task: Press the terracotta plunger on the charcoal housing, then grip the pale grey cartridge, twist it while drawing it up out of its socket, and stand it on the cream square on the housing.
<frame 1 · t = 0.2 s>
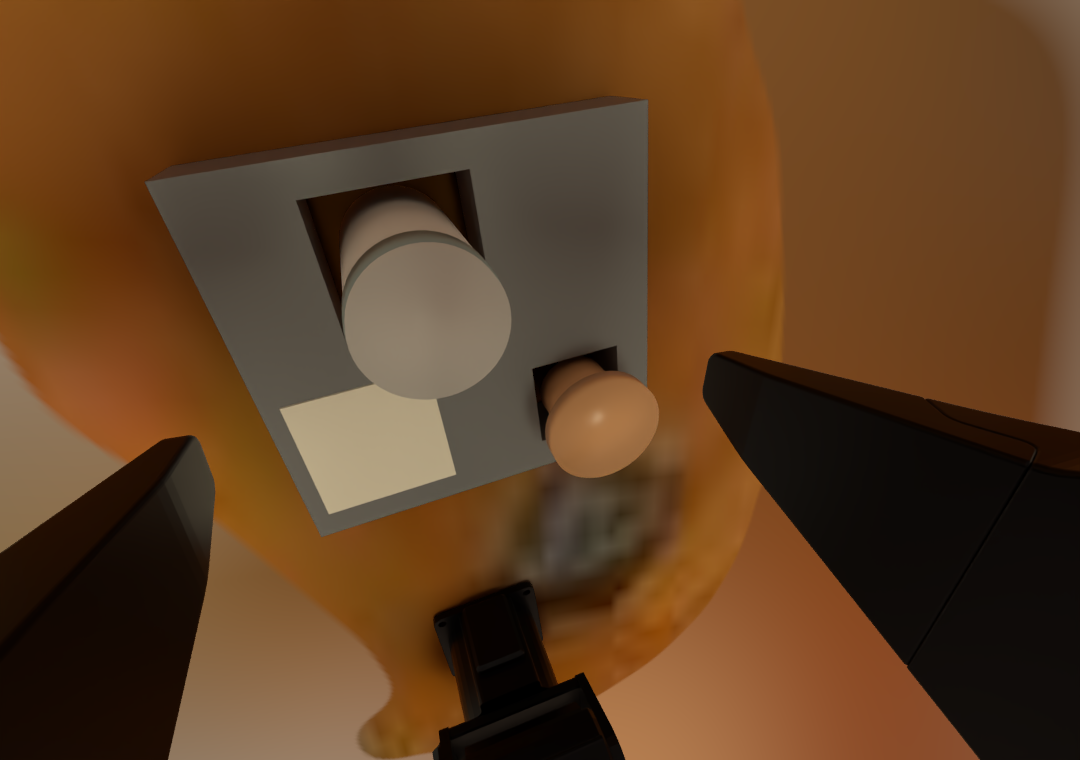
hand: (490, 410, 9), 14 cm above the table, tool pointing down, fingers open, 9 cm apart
housing: (452, 313, 23), on the table
cartridge: (397, 243, 21), resting in housing
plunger: (588, 407, 23), point 4 cm above the table, slide at 0.0 cm
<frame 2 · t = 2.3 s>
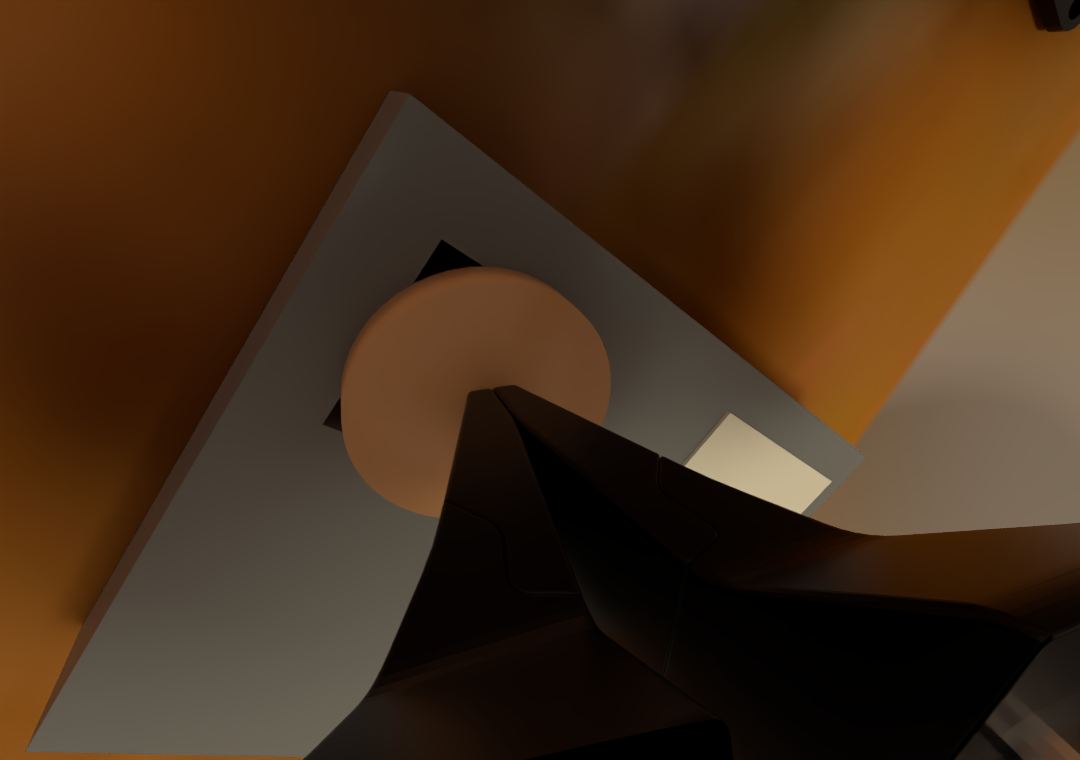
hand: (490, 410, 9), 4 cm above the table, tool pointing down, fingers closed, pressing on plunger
housing: (498, 498, 16), on the table
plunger: (464, 366, 11), point 2 cm above the table, slide at 1.9 cm, touching gripper
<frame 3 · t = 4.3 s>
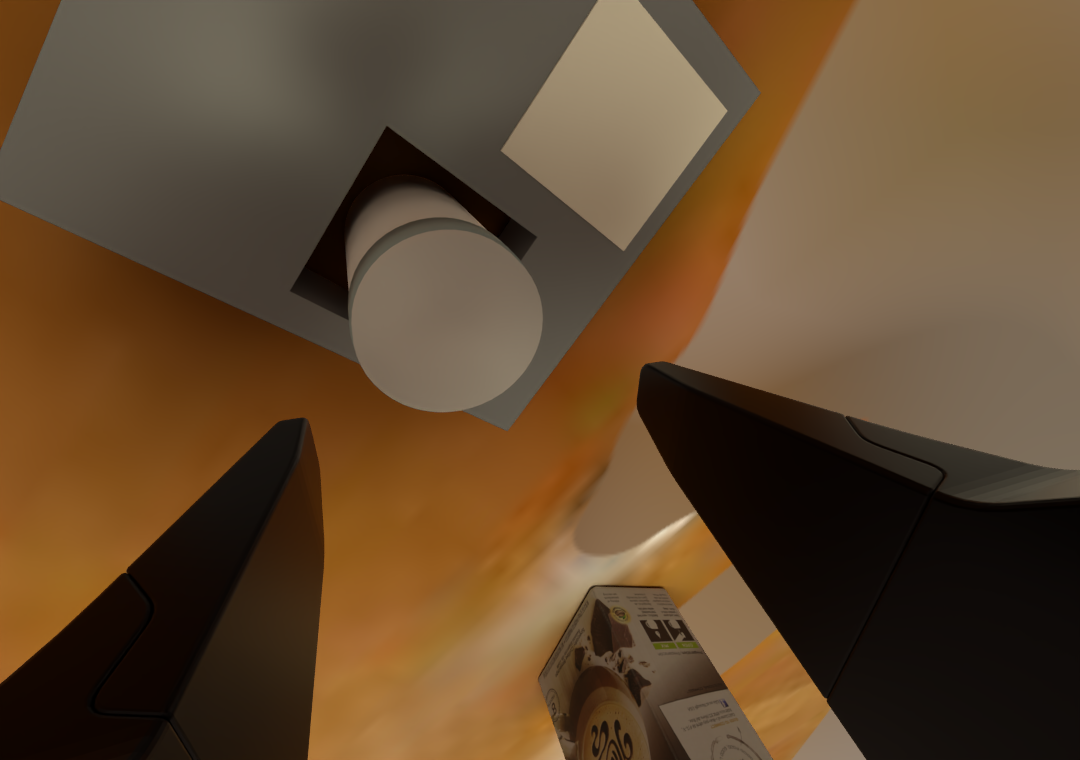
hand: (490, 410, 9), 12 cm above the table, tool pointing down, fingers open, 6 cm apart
housing: (424, 126, 17), on the table
cartridge: (408, 238, 19), resting in housing
coffee box: (598, 630, 36), on the table
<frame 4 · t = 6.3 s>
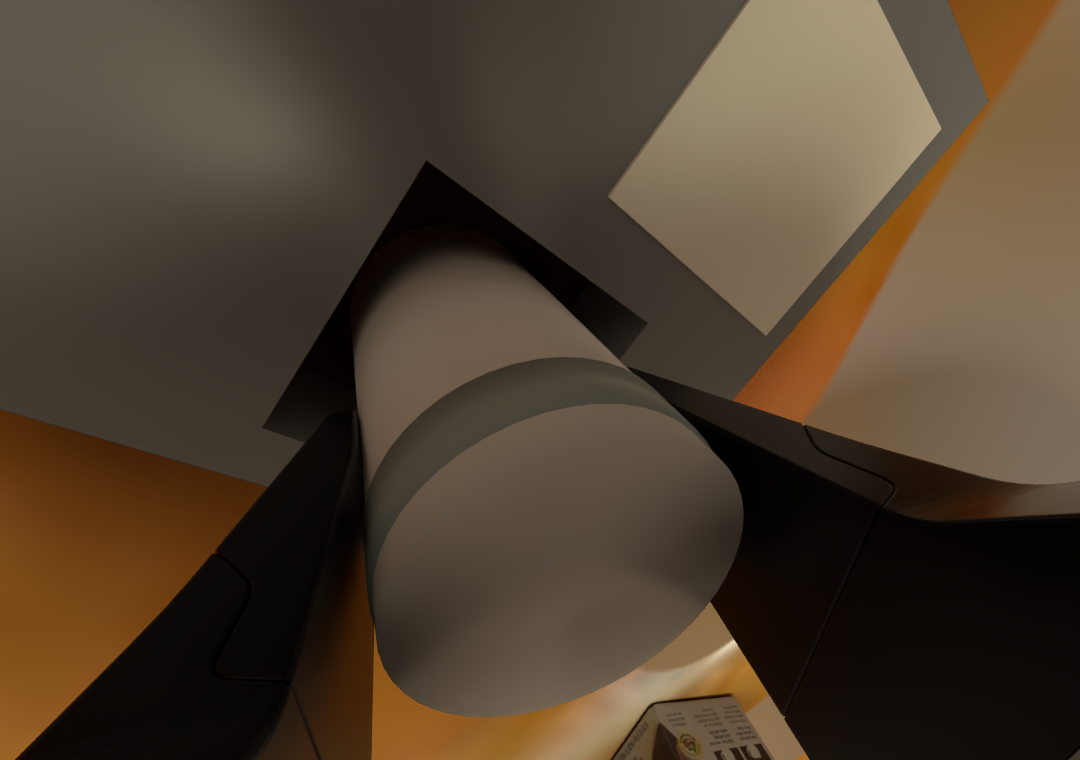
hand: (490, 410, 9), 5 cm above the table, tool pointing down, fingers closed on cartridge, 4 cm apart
housing: (474, 152, 11), on the table
cartridge: (444, 315, 13), resting in housing, touching gripper
coffee box: (653, 745, 30), on the table
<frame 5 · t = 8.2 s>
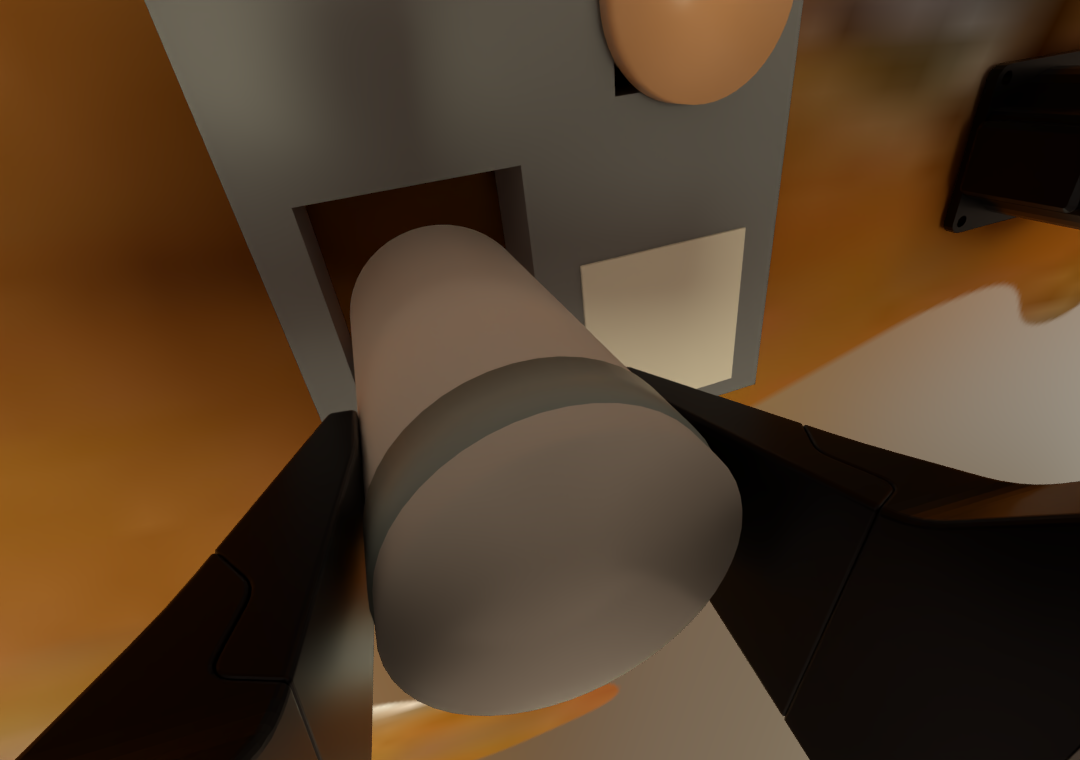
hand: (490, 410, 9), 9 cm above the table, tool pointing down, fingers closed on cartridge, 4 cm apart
housing: (519, 191, 17), on the table
cartridge: (444, 315, 13), point 5 cm above the table, touching gripper
when the fingers open (9 cm above the table, at t = 10.4 s): cartridge drops 1 cm, resting on housing.
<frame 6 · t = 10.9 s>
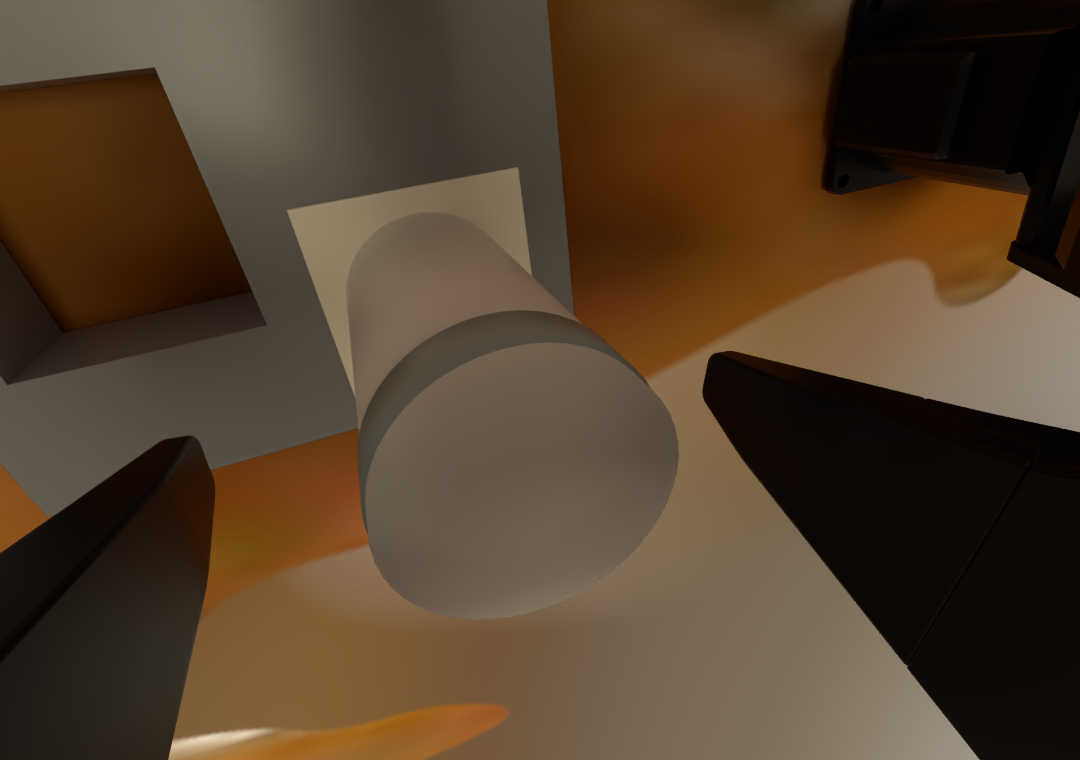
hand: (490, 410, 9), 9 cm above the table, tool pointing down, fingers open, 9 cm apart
housing: (242, 124, 13), on the table
cartridge: (433, 296, 14), point 3 cm above the table, touching housing
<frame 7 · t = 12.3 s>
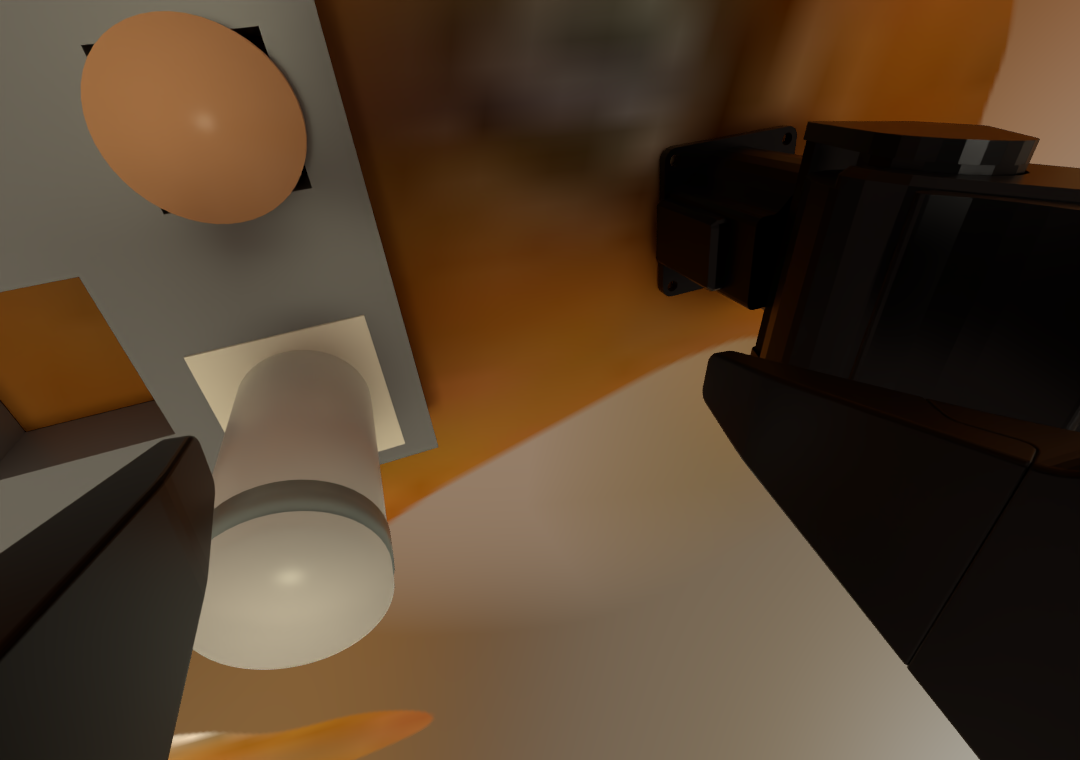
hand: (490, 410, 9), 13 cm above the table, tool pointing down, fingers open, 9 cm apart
housing: (158, 280, 18), on the table
cartridge: (306, 406, 19), point 3 cm above the table, touching housing
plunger: (215, 122, 15), point 2 cm above the table, slide at 2.0 cm
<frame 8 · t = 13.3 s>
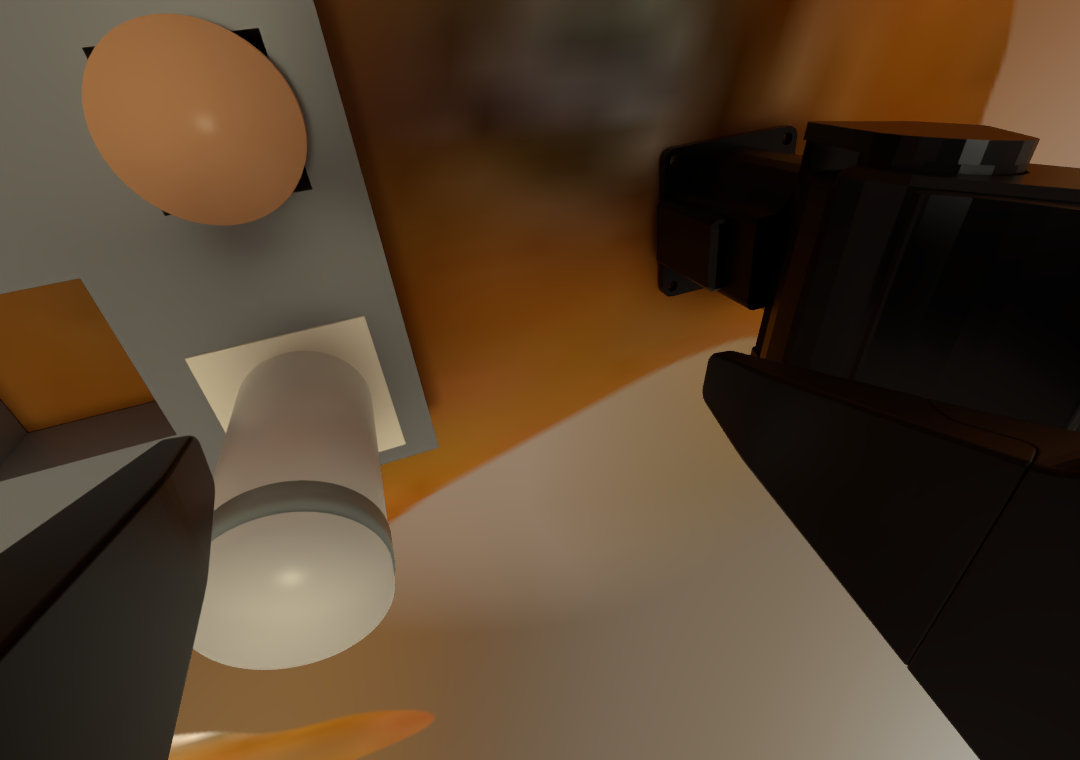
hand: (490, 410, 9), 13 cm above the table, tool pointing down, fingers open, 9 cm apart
housing: (159, 281, 18), on the table
cartridge: (307, 406, 19), point 3 cm above the table, touching housing
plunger: (215, 123, 15), point 2 cm above the table, slide at 2.0 cm
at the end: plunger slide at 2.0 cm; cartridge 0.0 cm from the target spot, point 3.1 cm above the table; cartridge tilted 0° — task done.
